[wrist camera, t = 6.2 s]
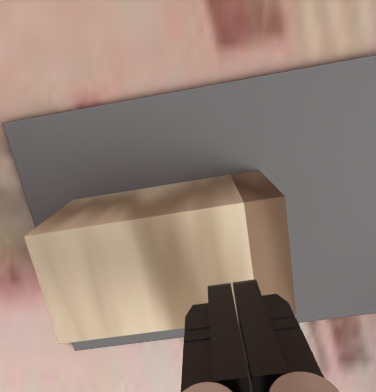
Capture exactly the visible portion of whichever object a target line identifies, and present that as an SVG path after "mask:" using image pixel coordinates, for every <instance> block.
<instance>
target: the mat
mask: <svg viewBox="0 0 376 392" xmlns="http://www.w3.org/2000/svg"><path fill="white" fill-rule="evenodd" d="M2 124H3V128H4V131H5V134H6V137H7V140H8V143H9V146H10V149H11V153H12V156H13V159H14V162H15V165H16V168H17V171H18V174H19V178H20V181H21V184H22V187H23V190H24V193H25V196H26V200H27V203H28V206H29V209H30V212H31V215H32V218H33V221H34V225H35V228H36V227H37V226H39V225H40V224H41V223H43V222H44V221H45V220H47V219H48V218H49V217H51V216H52V215H53V214H55V213H56V212H57V211H59V210H60V209H61V208H63V207H64V206H65V205H67V204H68V203H69V202H71V201H72V200H75V199H82V198H88V197H94V196H100V195H106V194H113V193H119V192H125V191H131V190H137V189H144V188H150V187H156V186H162V185H168V184H175V183H181V182H187V181H193V180H199V179H206V178H212V177H218V176H224V175H230V174H237V173H243V172H249V171H255V170H260V171H261V172H262V173H263V174H264V175H265V176H266V177H267V178H268V179H269V180H270V181H271V182H272V183H273V184H274V185H275V186H276V187H277V189H278V190H279V191H280V192H281V193H282V194H283V195H284V196H285V200H286V211H287V222H288V232H289V243H290V254H291V265H292V275H293V286H294V297H295V308H296V314H294V315H295V318H296V319H297V321H298V323H300V322H308V321H316V320H324V319H332V318H340V317H348V316H356V315H364V314H372V313H376V55H374V56H368V57H363V58H357V59H352V60H346V61H341V62H335V63H330V64H324V65H319V66H313V67H308V68H302V69H297V70H291V71H286V72H281V73H275V74H270V75H264V76H259V77H253V78H248V79H242V80H237V81H231V82H226V83H220V84H215V85H209V86H204V87H198V88H193V89H187V90H182V91H176V92H171V93H165V94H160V95H154V96H149V97H143V98H138V99H132V100H127V101H121V102H116V103H110V104H105V105H99V106H94V107H88V108H83V109H77V110H72V111H66V112H61V113H55V114H50V115H45V116H39V117H34V118H28V119H23V120H17V121H12V122H6V123H2ZM238 324H239V323H238ZM184 333H185V328H181V329H173V330H165V331H157V332H149V333H141V334H134V335H126V336H118V337H110V338H102V339H94V340H86V341H79V342H72V343H73V347H74V350H75V351H77V350H85V349H93V348H101V347H109V346H117V345H125V344H133V343H141V342H149V341H157V340H165V339H173V338H181V337H184Z"/></svg>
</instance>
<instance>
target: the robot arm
mask: <svg viewBox="0 0 376 392" xmlns="http://www.w3.org/2000/svg"><path fill="white" fill-rule="evenodd" d="M233 290H234V296H235V303H236V309H235V303H234V298H233V293H232V288H231V283H225V284H217V285H210V286H208V303H203V304H195V305H192V307H191V308H190V310H189V311H188V313H187V315H186V316H185V333H184V347H183V365H182V383H181V392H339V391H338V389H337V388H336V387H335V386H334V385H333V384H332V383H330V382H329V381H328V380H326V379H325V378H324V376H323V374H322V373H321V371H320V368H319V366H318V364H317V362H316V360H315V358H314V356H313V353H312V351H311V349H310V347H309V345H308V343H307V341H306V339H305V336H304V334H303V332H302V330H301V329H300V326H299V324H298V321H297V319H296V318H295V315H294V313H293V311H292V309H291V307H290V304H289V303H288V302H287V301H286V300H284V299H283V298H282V297H281V296H279V295H278V294H270V295H261V292H260V289H259V286H258V283H257V280H256V279H253V280H246V281H239V282H233ZM236 310H237V314H236ZM237 316H238V319H237ZM238 323H239V324H238ZM250 389H251V390H250Z"/></svg>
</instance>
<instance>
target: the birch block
mask: <svg viewBox="0 0 376 392" xmlns="http://www.w3.org/2000/svg"><path fill="white" fill-rule="evenodd" d="M24 239H25V242H26V245H27V248H28V251H29V254H30V257H31V260H32V263H33V266H34V269H35V272H36V275H37V278H38V281H39V284H40V287H41V290H42V293H43V296H44V299H45V302H46V305H47V308H48V311H49V314H50V317H51V320H52V323H53V326H54V329H55V332H56V335H57V338H58V341H59V344H63V343H71V342H79V341H86V340H94V339H102V338H110V337H118V336H126V335H134V334H141V333H149V332H157V331H165V330H173V329H181V328H185V316H186V315H187V313H188V311H189V310H190V308H191V307H192V305H195V304H203V303H208V286H210V285H217V284H225V283H231V288H232V293H233V298H234V303H235V296H234V290H233V282H239V281H246V280H253V279H256V280H257V283H258V286H259V289H260V292H261V295H270V294H278V295H279V296H281V297H282V298H283V299H284V300H286V301H287V302H288V303H289V304H290V307H291V309H292V311H293V313H294V314H296V308H295V297H294V286H293V275H292V265H291V254H290V243H289V232H288V222H287V211H286V200H285V196H284V195H283V194H282V193H281V192H280V191H279V190H278V189H277V187H276V186H275V185H274V184H273V183H272V182H271V181H270V180H269V179H268V178H267V177H266V176H265V175H264V174H263V173H262V172H261V171H260V170H255V171H249V172H243V173H237V174H230V175H224V176H218V177H212V178H206V179H199V180H193V181H187V182H181V183H175V184H168V185H162V186H156V187H150V188H144V189H137V190H131V191H125V192H119V193H113V194H106V195H100V196H94V197H88V198H82V199H75V200H72V201H71V202H69V203H68V204H67V205H65V206H64V207H63V208H61V209H60V210H59V211H57V212H56V213H55V214H53V215H52V216H51V217H49V218H48V219H47V220H45V221H44V222H43V223H41V224H40V225H39V226H37V227H36V228H34V229H33V230H32V231H30V232H29V233H28V234H26V235H25V236H24ZM235 309H236V303H235ZM236 314H237V310H236ZM237 319H238V316H237Z"/></svg>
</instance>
